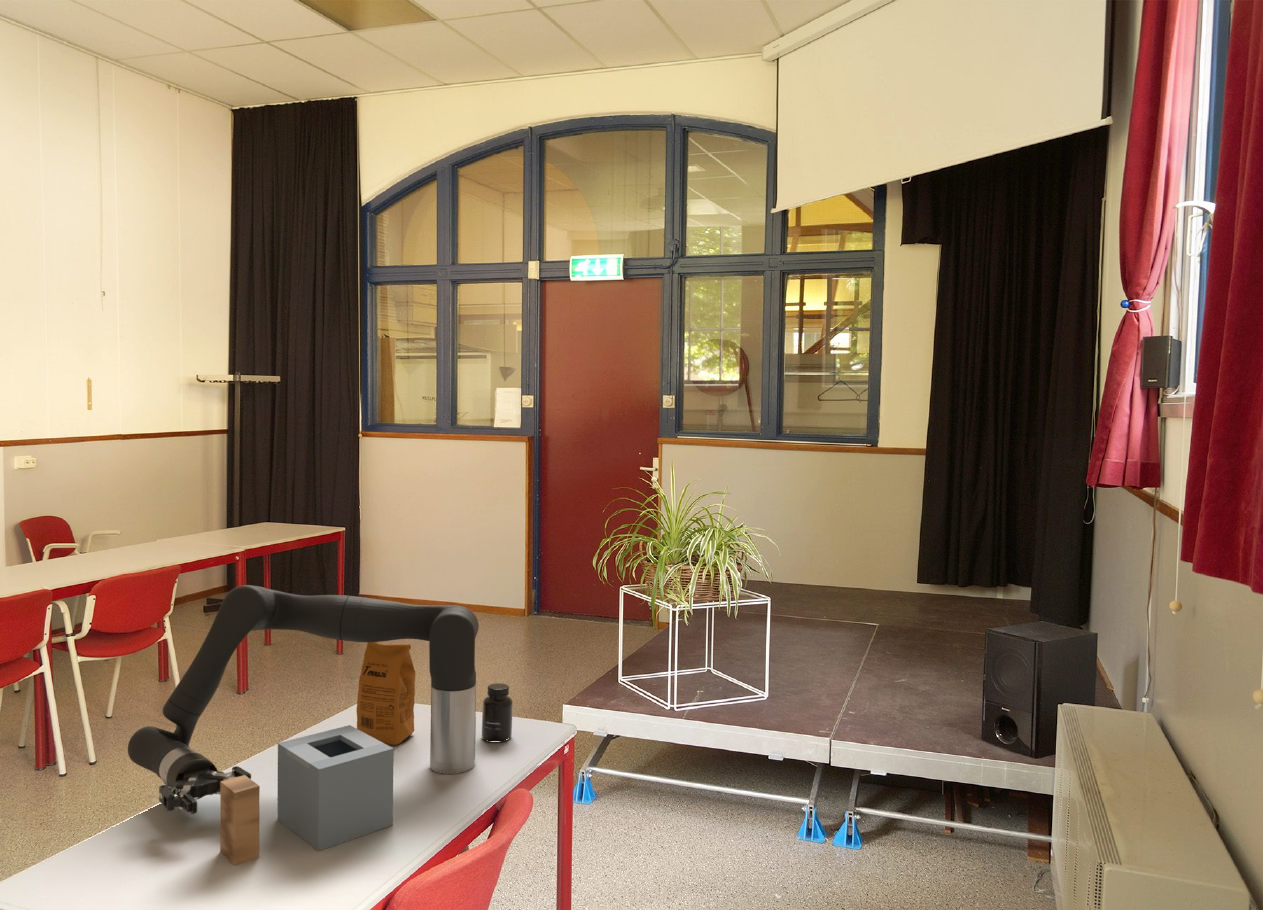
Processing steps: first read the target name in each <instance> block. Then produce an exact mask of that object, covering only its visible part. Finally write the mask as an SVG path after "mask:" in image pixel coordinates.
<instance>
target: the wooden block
mask: <svg viewBox="0 0 1263 910" xmlns="http://www.w3.org/2000/svg"><path fill="white" fill-rule="evenodd" d="M219 795H220V797H219V799H220V801H219V802H220V805H219V807H220V815H219V816H220V820H219V821H220V829H219V830H220V833H219V834H220V836H219V837H220V839H219V841H220V842H219V843H220V844H219V845H220V847H219V850H220V851H219V852H220V853H221V854H222V855H223V856H224V857H225V858H226V859H227V860H229V862H231V863H232V864H233V865H234V866H236V865H240V864H242V863H247V862H248V861H252V860H254V859H255V860H256V859H257V858H260V785H259V784H258V783H256V782H255V781H254V780H252V778H251V779H249V778H248V777H247V776H245V775H243V776H239V777H235V778H232V779H228V780H224V781H221V782H220V794H219Z"/></svg>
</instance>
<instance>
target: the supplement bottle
mask: <svg viewBox="0 0 1263 910" xmlns="http://www.w3.org/2000/svg"><path fill="white" fill-rule="evenodd" d="M509 690H510V686H509V685H508V684H507V683H501V682H499V683H497V682H496V683H491V684H489V685H488V686H487V693H486V694H487V696H486V697H485V698H484V699H483V701H482V710H481V711H482V715H481V738H482V739H483V738H484V739H485V740H488V741H504V740H506V739H508V738H510V737H511V738H512V733H513V731H512V729H513V708H514V707H513V706H514V705H513V704H514V703H513V699H512V698H511V697H510V696H509V694H510V691H509ZM511 738H510V739H511ZM484 739H483V740H484ZM485 740H484V741H485ZM488 741H487V742H488ZM504 742H505V741H504Z"/></svg>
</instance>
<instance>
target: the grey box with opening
mask: <svg viewBox="0 0 1263 910" xmlns="http://www.w3.org/2000/svg"><path fill="white" fill-rule="evenodd" d="M394 749H395V748H393V747H392V746H390V745H386V744H384V743H382V742H381V741H379V740H377V739H375V738H373V737H371V736H369V735H367V734H366V733H364V732H362V731H360V730H358V729H357V727H354V726H353V725H350V724H349V725H344V726H340V727H337V728H334V729H329V730H325V731H321V732H317V733H314V734H309V735H304V736H302V737H297V738H292V739H290V740H289V739H288V740H285V741H281V742H277V808H276V809H277V816H276V817H277V820H278V821H279V822H281V823H282V824H283V825H284V826H286V827H287V828H288V829H290V830H291V831H292V832H293V833H295V835H297V836H298V837H300V838H301V839H302V840H303V841H305V842H306V843H308V845H310V846H311V847H312V848H314V849H315V850H317V851H318V852H319V851H322V850H326V849H329V848H331V847H334V846H338V845H340V844H342V843H346V842H348V841H352V840H354V839H357V838H360V837H363V836H366V835H368V834H372V833H375V832H377V831H380V830H383V829H386V828H389V827H392V826H393V825H394V762H395V761H394V757H395V756H394V755H395V753H394Z"/></svg>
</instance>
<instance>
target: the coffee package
mask: <svg viewBox="0 0 1263 910" xmlns="http://www.w3.org/2000/svg"><path fill="white" fill-rule="evenodd" d="M366 643H367V644H366V648H365V651H364V654H363V661H362V665H361V671H360V675H359V678H358V691H357V701H356V729H358V730H360V731H362V732H364V733H366V734H367V735H369V736H371V737H373V738H375V739H377V740H379V741H381V742H382V743H384V744H386V745H388V746H390V745H391V746H392V745H393V746H396V745H399V744H401V743H402V742H403V741H404V740H405V739H407V738H408V737H409V736H411V735H413V733H414V732H415V711H414V710H415V709H414V708H415V703H416V702H415V697H416V671H415V667H414V663H413V659H412V657H411V651H410V650H411V649H412V646H411V644H410V643H400V644H383V643H382V642H381V643H380V642H366Z"/></svg>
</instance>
